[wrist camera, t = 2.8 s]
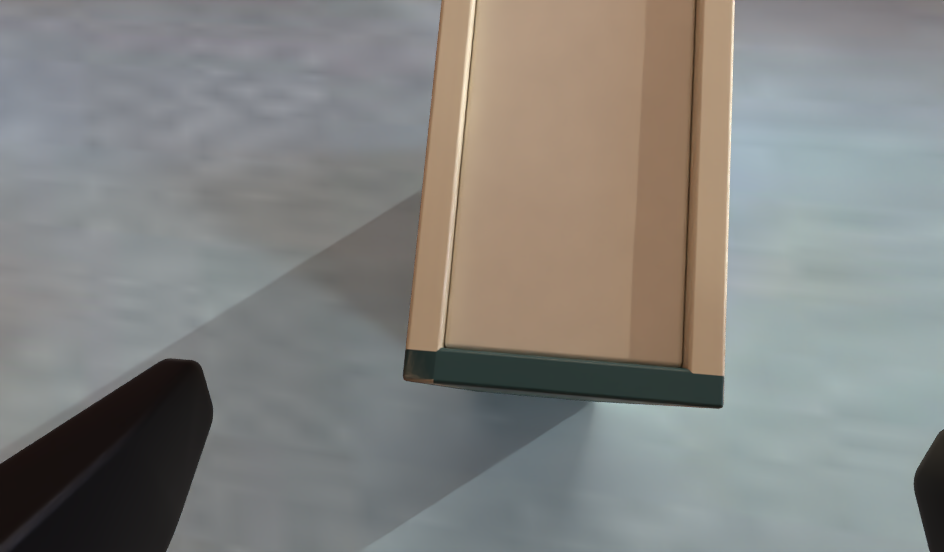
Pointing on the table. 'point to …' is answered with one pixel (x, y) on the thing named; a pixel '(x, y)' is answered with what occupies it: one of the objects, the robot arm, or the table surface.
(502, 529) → the table surface
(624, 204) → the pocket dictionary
